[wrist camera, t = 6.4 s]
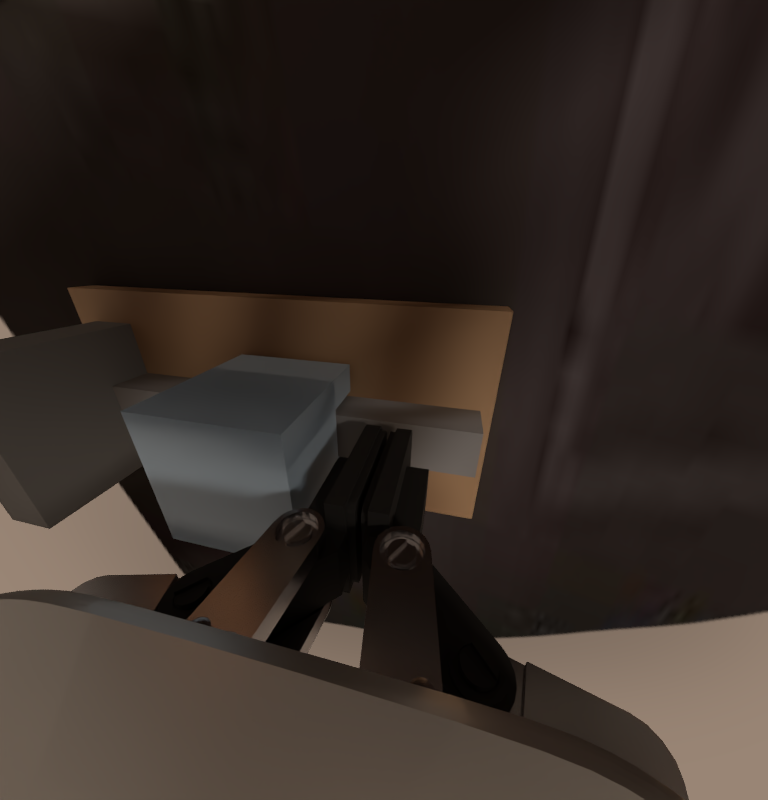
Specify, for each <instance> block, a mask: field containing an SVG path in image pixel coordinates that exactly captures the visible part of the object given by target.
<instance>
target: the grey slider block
mask: <svg viewBox="0 0 768 800" xmlns="http://www.w3.org/2000/svg"><path fill="white" fill-rule="evenodd" d="M349 392H350V364H339V363H329V362H318V361H308V360H297V359H286V358H276V357H265V356H254V355H244V354H242V355H240V356H237V357H235V358H233V359H231V360H229V361H227V362H225V363H222V364H220V365H218V366H216V367H214V368H212V369H210V370H208V371H205V372H203V373H201V374H199V375H197V376H195V377H193V378H190V379H188V380H186V381H184V382H182V383H180V384H178V385H176V386H173V387H171V388H169V389H167V390H165V391H163V392H161V393H159V394H156V395H154V396H152V397H150V398H148V399H146V400H144V401H141V402H139V403H137V404H135V405H133V406H131V407H129V408H127V409H124V410H122V411H120V412H121V414H122V417H123V419H124V422H125V424H126V426H127V429H128V431H129V434H130V436H131V438H132V441H133V443H134V446H135V448H136V450H137V453H138V455H139V458H140V460H141V462H142V465H143V467H144V470H145V472H146V474H147V477H148V479H149V482H150V484H151V486H152V489H153V491H154V494H155V496H156V498H157V501H158V503H159V506H160V508H161V510H162V513H163V515H164V518H165V520H166V522H167V525H168V527H169V530H170V532H171V534H172V537H173V539H177V540H182V541H186V542H190V543H194V544H199V545H203V546H207V547H212V548H216V549H220V550H224V551H229V552H233V553H235V552H237V551H239V550H241V549H244V548H246V547H248V546H251V545H253V544H254V543H255V542H256V541H257V540H258V539H259V538H260V537H261V536H262V535H263V533H264V532H265V531H266V530H267V529H268V528H269V527H270V526H271V524H272V523H273V522H274V521H275V520H276V519H277V518H278V517H280V516H281V515H282V514H284V513H286V512H288V511H290V510H294V509H297V508H309V506H310V505H311V503H312V501H313V500H314V498H315V496H316V494H317V493H318V491H319V489H320V488H321V486H322V484H323V483H324V481H325V479H326V477H327V476H328V474H329V472H330V471H331V469H332V467H333V466H334V464H335V462H336V460H337V459H338V458H339V457H338V444H337V427H336V409H337V407H338V406H339V405H340V404H341V402H342V401H343V400H344V399H345V397H346V396H347V395H348V393H349Z"/></svg>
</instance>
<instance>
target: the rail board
mask: <svg viewBox="0 0 768 800" xmlns="http://www.w3.org/2000/svg"><path fill="white" fill-rule="evenodd" d="M67 289H68V291H69V293H70V296H71V298H72V300H73V303H74V305H75V308H76V310H77V312H78V315H79V317H80V320H81V322H82V324H84V323H89V322H94V321H102V322H115V323H128V324H130V325H131V327H132V330H133V333H134V336H135V339H136V342H137V345H138V347H139V350H140V353H141V356H142V359H143V362H144V365H145V367H146V370H147V373H146V374H143V375H140V376H138V377H135V378H133V379H130V380H128V381H125V382H122V383H120V384H117V385H115V386H112V387H113V390H114V392H115V395H116V397H117V400H118V402H119V404H120V407H121V409H122V410H124V409H127V408H129V407H131V406H133V405H135V404H137V403H139V402H141V401H144V400H146V399H148V398H150V397H152V396H154V395H156V394H159V393H161V392H163V391H165V390H167V389H169V388H171V387H173V386H176V385H178V384H180V383H182V382H184V381H186V380H188V379H190V378H193V377H195V376H197V375H199V374H201V373H203V372H205V371H208V370H210V369H212V368H214V367H216V366H218V365H220V364H222V363H225V362H227V361H229V360H231V359H233V358H235V357H237V356H240V355H242V354H244V355H254V356H265V357H276V358H286V359H297V360H308V361H318V362H329V363H339V364H350V392H349V393H348V395H347V396H346V397H345V399H344V400H343V401H342V402H341V404H340V405H339V406H338V407H337V409H336V427H337V444H338V457H346V458H348V457H349V455H350V454H351V452H352V450H353V448H354V446H355V444H356V442H357V441H358V439H359V437H360V435H361V433H362V431H363V429H364V428H365V426H366V425H375V426H381V427H382V430H383V431H387V440H388V437H389V434H390V432H391V431H392V432H396V429H397V428H400V429H408V430H412V449H411V467H416V468H423V469H429V477H428V488H427V497H426V506H425V511H431V512H436V513H442V514H447V515H453V516H458V517H464V518H469V519H472V515H473V510H474V505H475V500H476V495H477V490H478V485H479V480H480V475H481V470H482V465H483V460H484V455H485V450H486V445H487V440H488V435H489V430H490V425H491V420H492V415H493V411H494V406H495V401H496V396H497V391H498V386H499V381H500V376H501V371H502V366H503V361H504V356H505V351H506V346H507V341H508V336H509V331H510V326H511V321H512V316H513V311H512V310H511V309H510V308H509V307H508V306H488V305H469V304H449V303H430V302H411V301H391V300H372V299H352V298H333V297H313V296H294V295H274V294H255V293H235V292H216V291H196V290H177V289H157V288H138V287H119V286H99V285H91V286H80V287H69V288H67Z"/></svg>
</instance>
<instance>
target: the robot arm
mask: <svg viewBox="0 0 768 800" xmlns="http://www.w3.org/2000/svg"><path fill="white" fill-rule="evenodd" d="M411 449H412V430H408V429H400V428H397V429H396V432H392V431H391V432H390V434H389V437H388V440H387V431H383V430H382V427H381V426H375V425H366V426H365V428H364V429H363V431H362V433H361V435H360V437H359V439H358V441H357V442H356V444H355V446H354V448H353V450H352V452H351V454H350V455H349V457H348V458H346V457H339V458H338V459H337V460H336V462H335V464H334V466H333V467H332V469H331V471H330V472H329V474H328V476H327V477H326V479H325V481H324V483H323V484H322V486H321V488H320V489H319V491H318V493H317V494H316V496H315V498H314V500H313V501H312V503H311V505H310V506H309V508H297V509H294V510H290V511H288V512H286V513H284V514H282V515H281V516H280V517H278V518H277V519H276V520H275V521H274V522H273V523H272V524H271V526H270V527H269V528H268V529H267V530H266V531H265V532H264V533H263V535H262V536H261V537H260V538H259V539H258V540H257V541H256V542H255V543H254V544H253V545H251V546H248V547H246V548H244V549H241V550H239V551H237V552H235V553H232V554H230V555H228V556H226V557H223V558H221V559H219V560H216V561H214V562H212V563H210V564H207V565H205V566H203V567H200V568H198V569H196V570H194V571H191V572H190V573H188V574H186V575H184V576H182V577H181V578H178V577H177V574H157V575H156V574H154V575H107V576H102V577H96V578H94V579H92V580H89V581H87V582H85V583H83V584H81V585H80V586H78V587H77V588H75V589H74V590H72V591H61V590H26V591H16V592H9V593H4V594H0V800H689V799H688V795H687V791H686V787H685V784H684V780H683V778H682V775H681V773H680V770H679V768H678V765H677V763H676V761H675V759H674V758H673V756H672V755H671V753H670V752H669V750H668V749H667V747H666V745H665V744H664V743H663V741H662V740H661V739H660V738H659V737H658V736H657V735H656V734H655V733H654V732H653V731H652V730H651V729H650V728H649V726H648V725H647V724H645V723H644V722H642V721H641V720H639V719H638V718H636V717H635V716H633V715H632V714H630V713H629V712H626V711H625V710H623V709H621V708H619V707H616V706H615V705H612V704H610V703H609V702H607V701H605V700H603V699H601V698H598V697H597V696H595V695H593V694H591V693H589V692H587V691H585V690H583V689H581V688H579V687H577V686H575V685H573V684H571V683H569V682H567V681H565V680H563V679H561V678H559V677H557V676H555V675H553V674H551V673H549V672H547V671H545V670H543V669H541V668H539V667H537V666H535V665H533V664H531V663H529V662H527V663H526V665H523V664H521V663H519V662H517V661H515V660H513V659H511V658H509V657H508V656H507V654H506V653H505V651H504V650H503V649H502V647H501V646H500V644H499V643H498V642H497V641H496V640H495V638H494V637H493V636H492V635H491V634H490V632H489V631H488V630H487V629H486V628H485V626H484V625H483V624H482V623H481V622H480V620H479V619H478V618H477V617H476V616H475V615H474V613H473V612H472V611H471V610H470V609H469V607H468V606H467V605H466V604H465V603H464V601H463V600H462V599H461V598H460V597H459V596H458V594H457V593H456V592H455V591H454V590H453V588H452V587H451V586H450V585H449V584H448V582H447V581H446V580H445V579H444V578H443V576H442V575H441V574H440V573H439V572H438V571H437V569H436V568H435V567H434V566H433V565H432V554H431V548H430V544H429V542H428V540H427V539H426V537H425V536H424V535H423V534H422V530H423V522H424V514H425V506H426V497H427V488H428V477H429V469H423V468H416V467H411ZM361 576H362V578H363V600H364V602H365V604H366V606H367V607H366V616H365V624H364V633H363V642H362V651H361V660H360V668H356V667H352V666H349V665H345V664H342V663H338V662H335V661H331V660H327V659H324V658H320V657H317V656H314V655H310V654H308V652H309V650H310V648H311V646H312V644H313V642H314V640H315V638H316V636H317V634H318V632H319V630H320V628H321V626H322V624H323V622H324V621H325V619H326V617H327V615H328V613H329V611H330V608H331V605H332V600H334V599H335V598H337V597H339V596H341V595H342V592H347V593H350V591H351V588H352V585H353V582H358V583H359V581H360V579H361Z"/></svg>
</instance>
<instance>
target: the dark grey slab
mask: <svg viewBox="0 0 768 800" xmlns="http://www.w3.org/2000/svg"><path fill="white" fill-rule="evenodd" d="M146 373H147V370H146V367H145V365H144V362H143V359H142V356H141V353H140V350H139V347H138V345H137V342H136V339H135V336H134V333H133V330H132V327H131V325H130V324H128V323H115V322H102V321H94V322H89V323H84V324H79V325H73V326H68V327H63V328H57V329H52V330H47V331H41V332H36V333H31V334H26V335H20V336H15V337H10V338H5V339H0V502H1V504H2V505H3V506H4V508H5V509H6V511H7V512H8V513H9V515H10V516H11V518H12V519H13V520H17V521H21V522H25V523H29V524H33V525H37V526H41V527H45V528H49V529H50V528H52V527H53V526H54V525H56V524H57V523H59V522H60V521H62V520H63V519H65V518H66V517H68V516H69V515H71V514H72V513H74V512H75V511H77V510H78V509H80V508H81V507H83V506H84V505H86V504H87V503H89V502H90V501H91V500H93V499H94V498H96V497H97V496H99V495H100V494H102V493H103V492H105V491H106V490H108V489H109V488H111V487H112V486H114V485H115V484H117V483H118V482H120V481H121V480H123V479H124V478H126V477H127V476H129V475H130V474H132V473H133V472H135V471H136V470H138V469H139V468H140V467H142V466H143V465H142V462H141V460H140V458H139V455H138V453H137V450H136V448H135V446H134V443H133V441H132V438H131V436H130V434H129V431H128V429H127V426H126V424H125V422H124V419H123V417H122V414H121V412H120V411H122V409H121V407H120V404H119V402H118V400H117V397H116V395H115V392H114V390H113V387H112V386H115V385H117V384H120V383H122V382H125V381H128V380H130V379H133V378H135V377H138V376H140V375H143V374H146Z"/></svg>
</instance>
